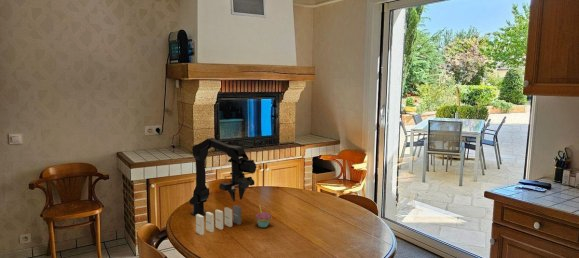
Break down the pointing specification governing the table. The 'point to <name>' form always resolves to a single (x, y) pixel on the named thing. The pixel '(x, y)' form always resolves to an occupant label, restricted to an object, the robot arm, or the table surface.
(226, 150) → the robot arm
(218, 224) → the domino
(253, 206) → the table surface
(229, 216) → the domino
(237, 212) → the grey domino block
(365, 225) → the table surface
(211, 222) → the domino
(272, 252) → the table surface
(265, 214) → the cupcake
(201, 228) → the domino
